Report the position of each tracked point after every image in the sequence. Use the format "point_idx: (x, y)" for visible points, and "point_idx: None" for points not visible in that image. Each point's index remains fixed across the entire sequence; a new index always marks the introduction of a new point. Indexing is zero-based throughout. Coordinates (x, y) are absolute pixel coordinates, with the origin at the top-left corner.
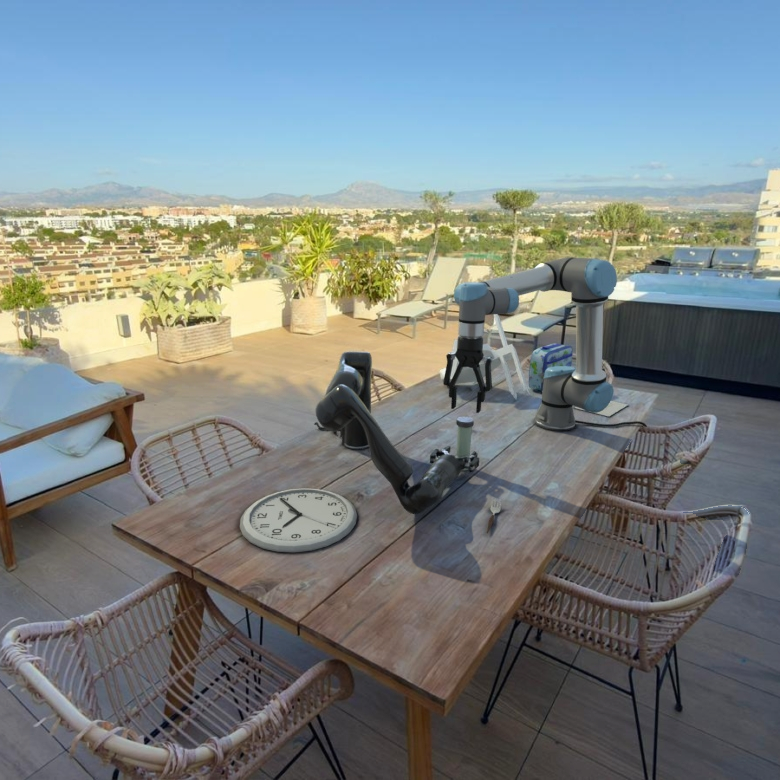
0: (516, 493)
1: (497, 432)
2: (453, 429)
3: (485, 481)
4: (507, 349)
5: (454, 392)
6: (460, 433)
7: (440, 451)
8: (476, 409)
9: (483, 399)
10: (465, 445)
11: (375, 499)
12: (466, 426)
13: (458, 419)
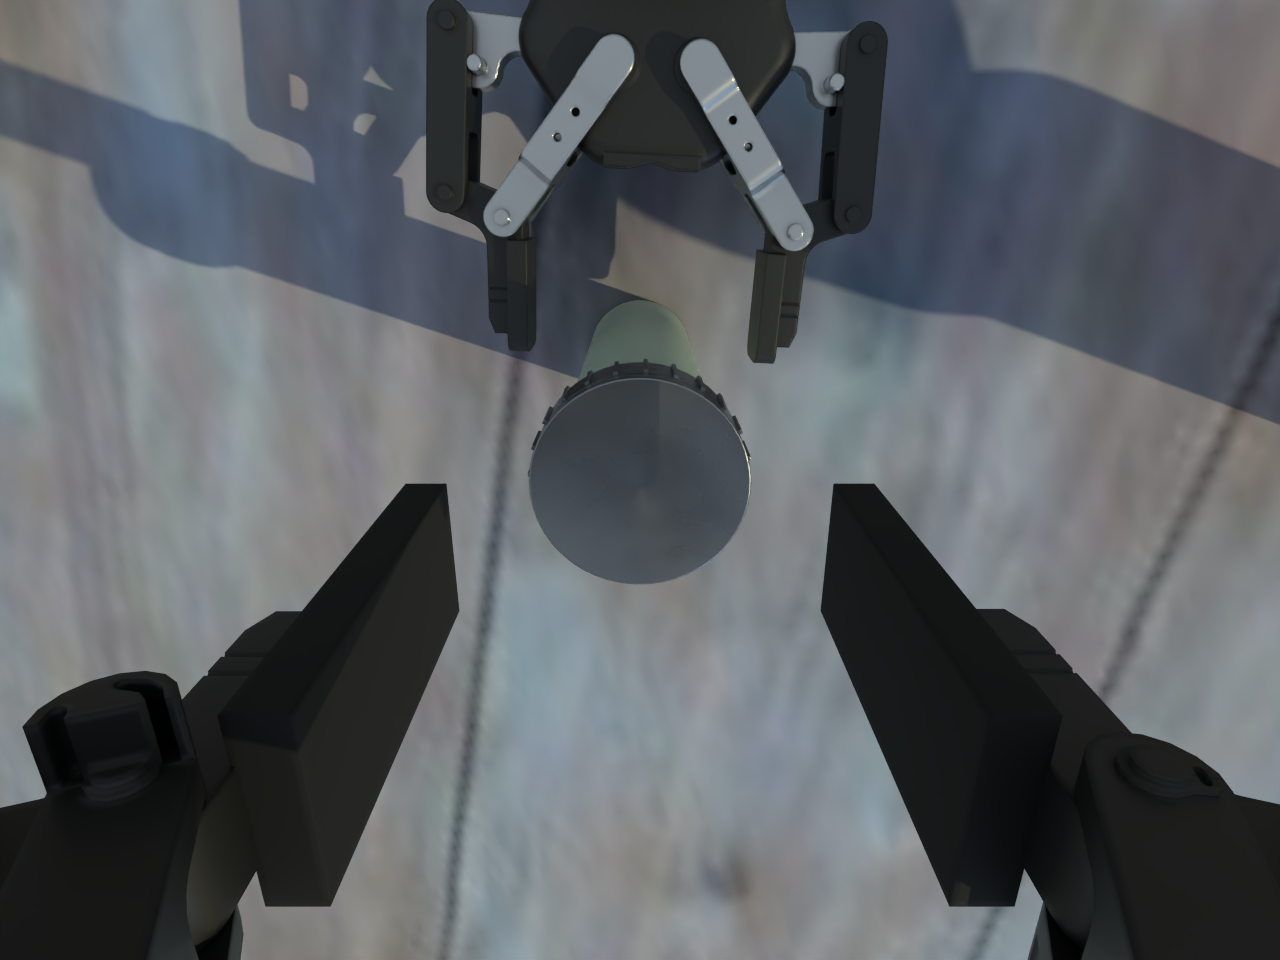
0: (157, 109)
1: (584, 919)
2: (850, 865)
3: (419, 203)
4: None
5: (943, 660)
6: (665, 364)
7: (814, 220)
8: (428, 504)
9: (239, 648)
10: (606, 345)
11: None
12: (590, 372)
13: (722, 446)
